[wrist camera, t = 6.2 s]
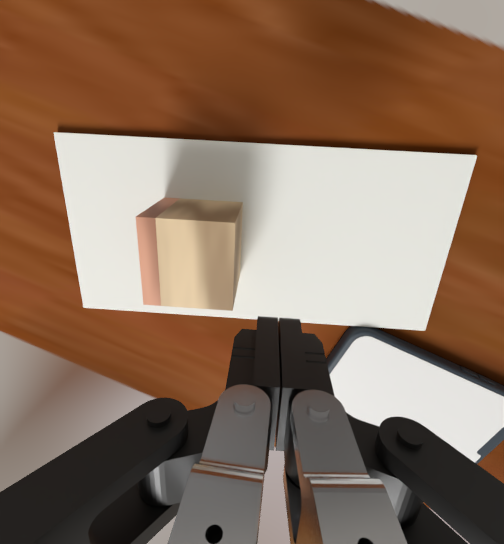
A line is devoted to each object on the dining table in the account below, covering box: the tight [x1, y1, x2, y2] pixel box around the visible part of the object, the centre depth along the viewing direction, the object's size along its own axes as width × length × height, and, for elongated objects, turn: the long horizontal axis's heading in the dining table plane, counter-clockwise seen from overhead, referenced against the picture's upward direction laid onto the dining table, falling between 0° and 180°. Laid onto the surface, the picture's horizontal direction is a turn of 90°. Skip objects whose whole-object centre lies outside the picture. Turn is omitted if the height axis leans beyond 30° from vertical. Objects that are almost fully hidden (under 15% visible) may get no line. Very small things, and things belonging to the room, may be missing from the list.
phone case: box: [326, 326, 504, 464], centre depth 27 cm, size 9×2×16 cm
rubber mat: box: [54, 132, 477, 331], centre depth 22 cm, size 25×12×1 cm, turn 87°
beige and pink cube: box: [136, 197, 243, 311], centre depth 20 cm, size 5×5×5 cm
